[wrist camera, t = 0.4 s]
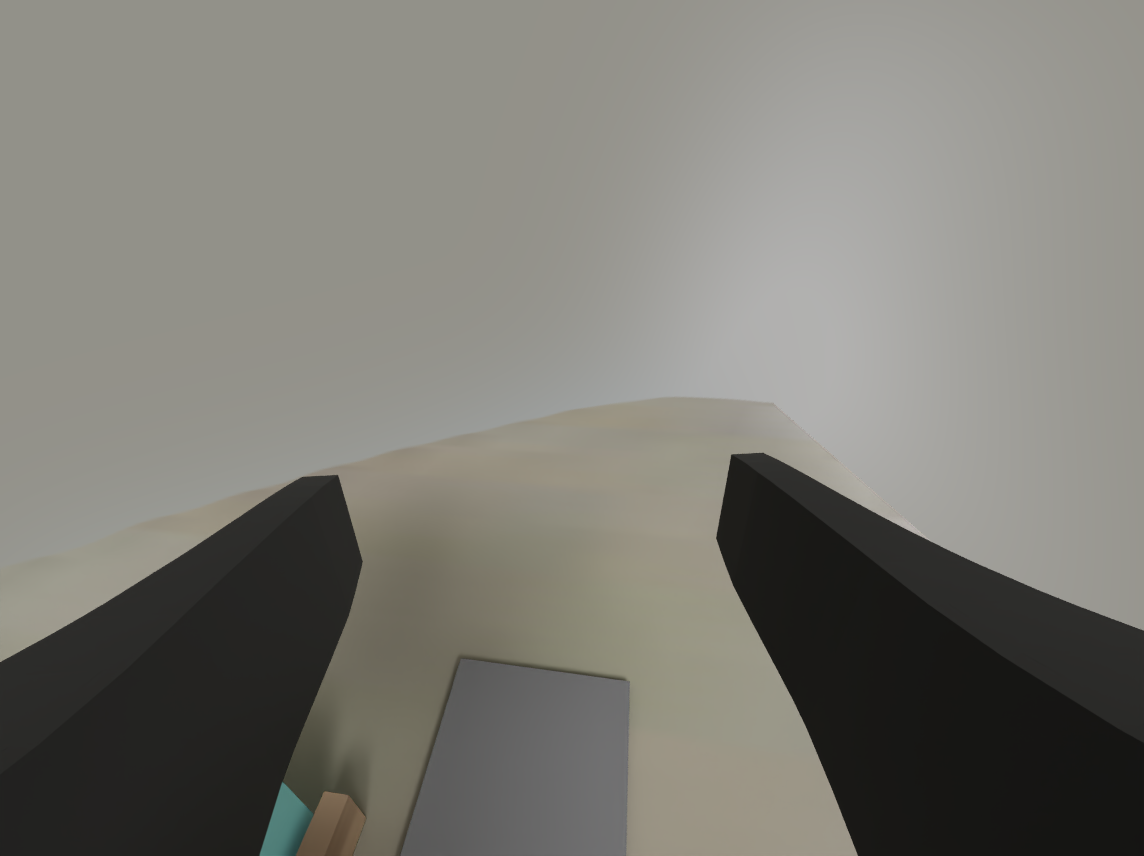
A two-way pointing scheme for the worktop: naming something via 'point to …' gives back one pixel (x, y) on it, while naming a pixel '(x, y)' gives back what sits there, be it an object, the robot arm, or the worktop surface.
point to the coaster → (526, 766)
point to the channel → (333, 827)
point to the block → (286, 825)
